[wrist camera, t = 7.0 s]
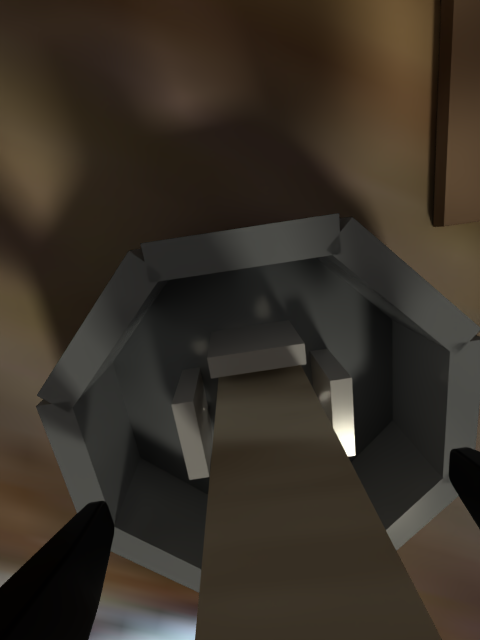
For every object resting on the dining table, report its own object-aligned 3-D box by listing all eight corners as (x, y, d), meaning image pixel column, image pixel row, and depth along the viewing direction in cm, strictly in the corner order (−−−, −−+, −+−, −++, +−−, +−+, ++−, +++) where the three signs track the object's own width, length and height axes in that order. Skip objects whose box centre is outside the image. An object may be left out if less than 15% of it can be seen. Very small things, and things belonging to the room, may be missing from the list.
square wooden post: (299, 419, 13) (498, 971, 3) (229, 427, 13) (222, 998, 3) (295, 353, 12) (546, 842, 2) (219, 362, 12) (174, 880, 2)
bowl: (404, 480, 15) (464, 565, 11) (145, 518, 15) (116, 616, 11) (407, 203, 11) (498, 188, 8) (64, 255, 11) (-18, 267, 8)
